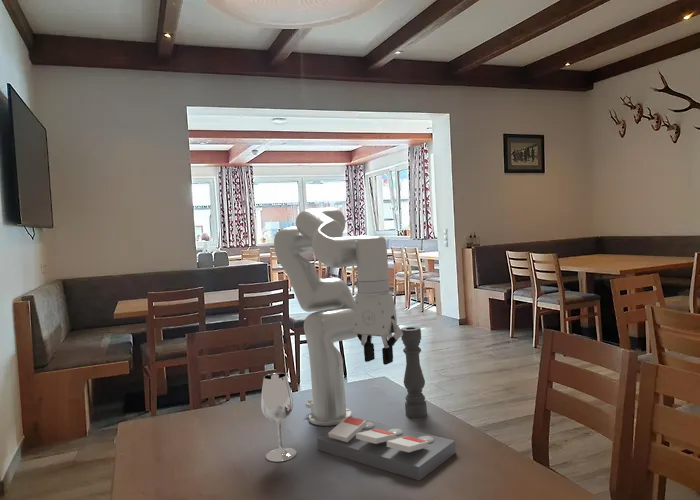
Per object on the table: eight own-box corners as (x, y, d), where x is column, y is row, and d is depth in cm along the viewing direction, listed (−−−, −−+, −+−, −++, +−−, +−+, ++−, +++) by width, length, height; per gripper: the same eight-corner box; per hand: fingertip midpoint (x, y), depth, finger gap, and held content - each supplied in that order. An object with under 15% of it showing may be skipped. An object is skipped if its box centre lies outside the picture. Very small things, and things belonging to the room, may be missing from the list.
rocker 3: (386, 446, 120) (386, 440, 120) (406, 441, 126) (406, 435, 126) (408, 452, 116) (409, 446, 116) (428, 446, 122) (428, 440, 122)
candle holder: (426, 418, 149) (420, 330, 148) (404, 417, 150) (398, 331, 149) (427, 410, 155) (422, 326, 154) (406, 410, 157) (401, 326, 155)
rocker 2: (355, 438, 126) (356, 432, 126) (376, 433, 132) (376, 428, 132) (376, 443, 122) (376, 437, 122) (396, 438, 128) (396, 433, 128)
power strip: (305, 446, 136) (304, 433, 136) (345, 425, 148) (344, 413, 148) (419, 480, 113) (418, 465, 113) (455, 452, 126) (454, 439, 126)
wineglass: (302, 449, 134) (296, 371, 133) (288, 463, 126) (282, 381, 125) (274, 447, 136) (268, 371, 135) (259, 460, 129) (253, 380, 128)
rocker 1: (329, 437, 132) (328, 432, 131) (348, 420, 138) (347, 415, 137) (347, 442, 128) (346, 437, 127) (366, 424, 134) (365, 420, 133)
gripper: (337, 288, 130) (342, 361, 131) (393, 290, 119) (399, 370, 120) (356, 284, 136) (361, 354, 137) (412, 286, 125) (416, 362, 126)
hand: (378, 361), depth 128 cm, fingers open, 4 cm apart
